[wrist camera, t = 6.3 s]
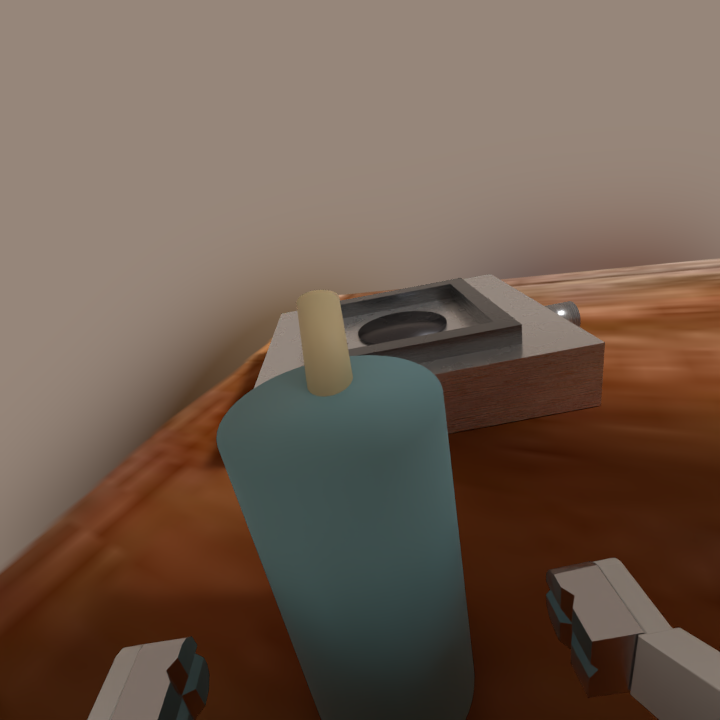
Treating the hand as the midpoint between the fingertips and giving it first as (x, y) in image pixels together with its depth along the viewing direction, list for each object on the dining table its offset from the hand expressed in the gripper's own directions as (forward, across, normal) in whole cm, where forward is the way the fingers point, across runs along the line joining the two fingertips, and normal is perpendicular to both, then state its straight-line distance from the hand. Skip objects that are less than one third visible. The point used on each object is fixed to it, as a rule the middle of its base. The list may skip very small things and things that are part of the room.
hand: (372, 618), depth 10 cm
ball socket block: (+23, -5, +6) cm, 24 cm away
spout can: (+2, 0, +6) cm, 6 cm away
